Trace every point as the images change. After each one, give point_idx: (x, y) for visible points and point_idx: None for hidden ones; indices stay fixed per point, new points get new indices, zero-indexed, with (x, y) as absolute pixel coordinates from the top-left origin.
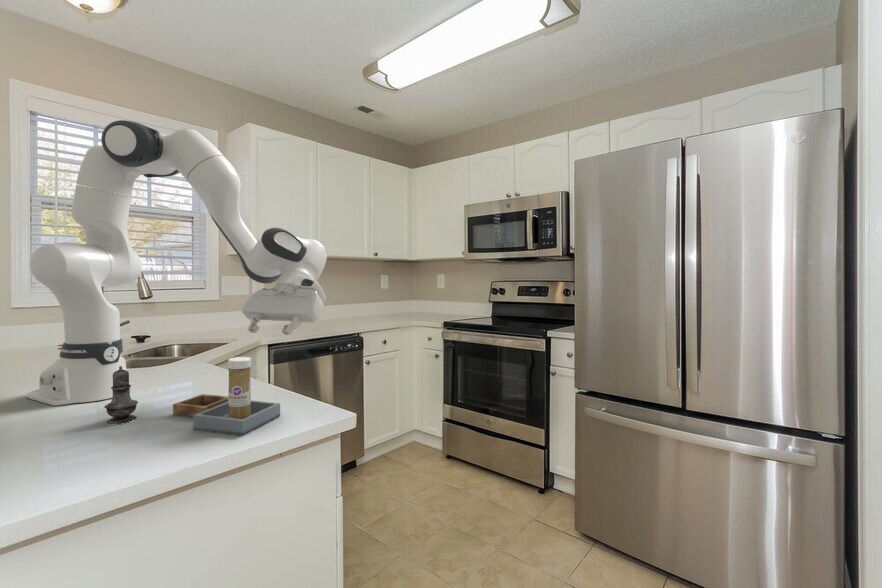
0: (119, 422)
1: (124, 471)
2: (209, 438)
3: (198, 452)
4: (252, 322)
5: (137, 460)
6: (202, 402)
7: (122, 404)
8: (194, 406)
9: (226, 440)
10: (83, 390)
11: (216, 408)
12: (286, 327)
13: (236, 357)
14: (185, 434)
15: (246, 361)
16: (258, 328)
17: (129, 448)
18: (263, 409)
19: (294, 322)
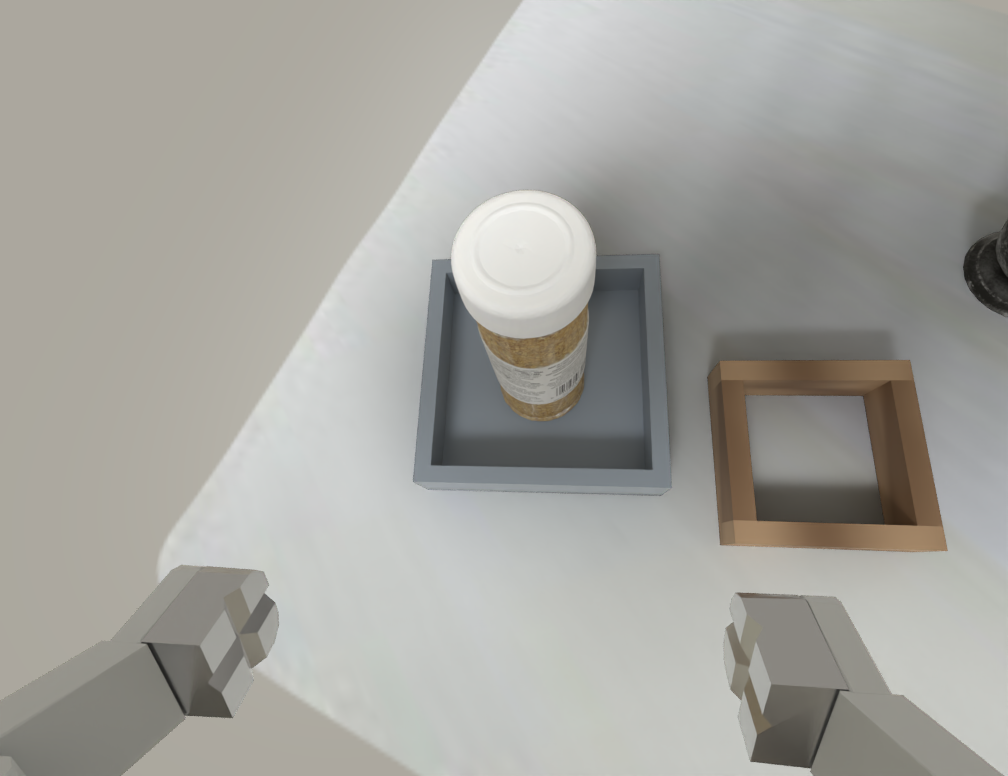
0: (984, 245)
1: (579, 47)
2: None
3: (490, 164)
4: (863, 698)
5: (605, 88)
6: (893, 521)
7: None
8: (781, 363)
9: None
10: None
11: (646, 351)
12: (181, 602)
13: (563, 261)
14: (640, 244)
15: (454, 240)
16: (743, 731)
17: (704, 126)
18: (436, 387)
19: (19, 699)
